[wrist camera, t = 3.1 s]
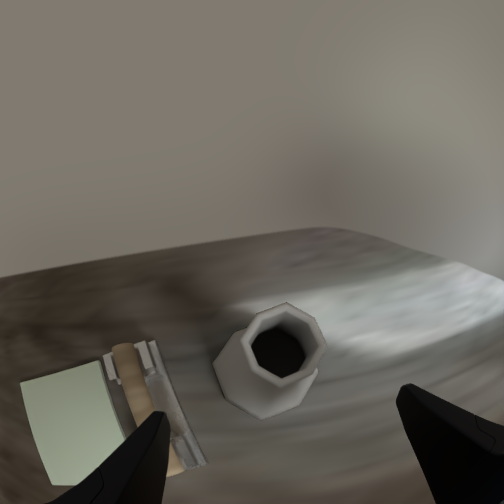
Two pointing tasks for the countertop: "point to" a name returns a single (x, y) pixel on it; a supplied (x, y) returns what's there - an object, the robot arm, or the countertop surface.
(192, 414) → the countertop surface
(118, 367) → the rod
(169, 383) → the cradle
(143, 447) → the robot arm
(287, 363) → the flask
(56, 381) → the pad
